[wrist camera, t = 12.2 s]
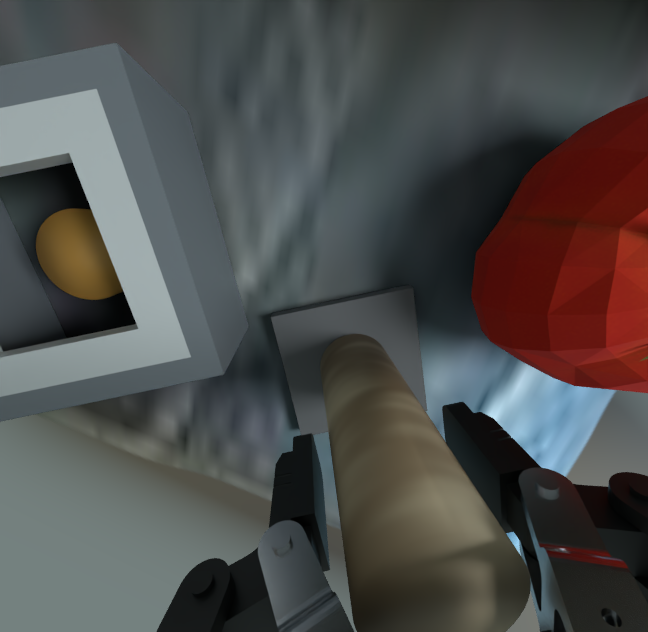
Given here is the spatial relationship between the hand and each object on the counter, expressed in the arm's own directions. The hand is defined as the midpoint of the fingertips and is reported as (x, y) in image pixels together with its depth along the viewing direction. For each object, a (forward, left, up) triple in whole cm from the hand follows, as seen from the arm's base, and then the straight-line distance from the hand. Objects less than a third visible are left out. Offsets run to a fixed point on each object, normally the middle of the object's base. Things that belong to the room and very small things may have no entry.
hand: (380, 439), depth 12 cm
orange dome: (+11, -9, -7) cm, 16 cm away
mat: (0, 0, -7) cm, 7 cm away
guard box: (+11, -9, -7) cm, 16 cm away
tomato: (-13, -4, -8) cm, 16 cm away
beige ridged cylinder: (0, 0, -6) cm, 6 cm away
